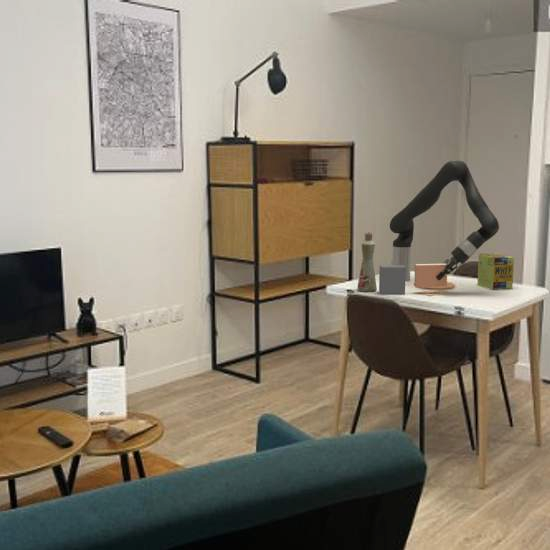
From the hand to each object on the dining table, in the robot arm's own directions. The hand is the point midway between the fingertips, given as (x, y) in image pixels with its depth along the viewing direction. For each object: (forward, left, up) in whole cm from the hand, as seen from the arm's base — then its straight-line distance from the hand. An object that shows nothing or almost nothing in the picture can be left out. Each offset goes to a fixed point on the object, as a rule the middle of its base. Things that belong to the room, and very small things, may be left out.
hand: (436, 278), depth 309 cm
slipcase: (-10, -17, -7) cm, 21 cm away
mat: (-1, -2, -7) cm, 8 cm away
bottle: (-21, -23, -8) cm, 33 cm away
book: (-1, -2, -4) cm, 5 cm away
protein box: (+1, +37, -8) cm, 37 cm away
